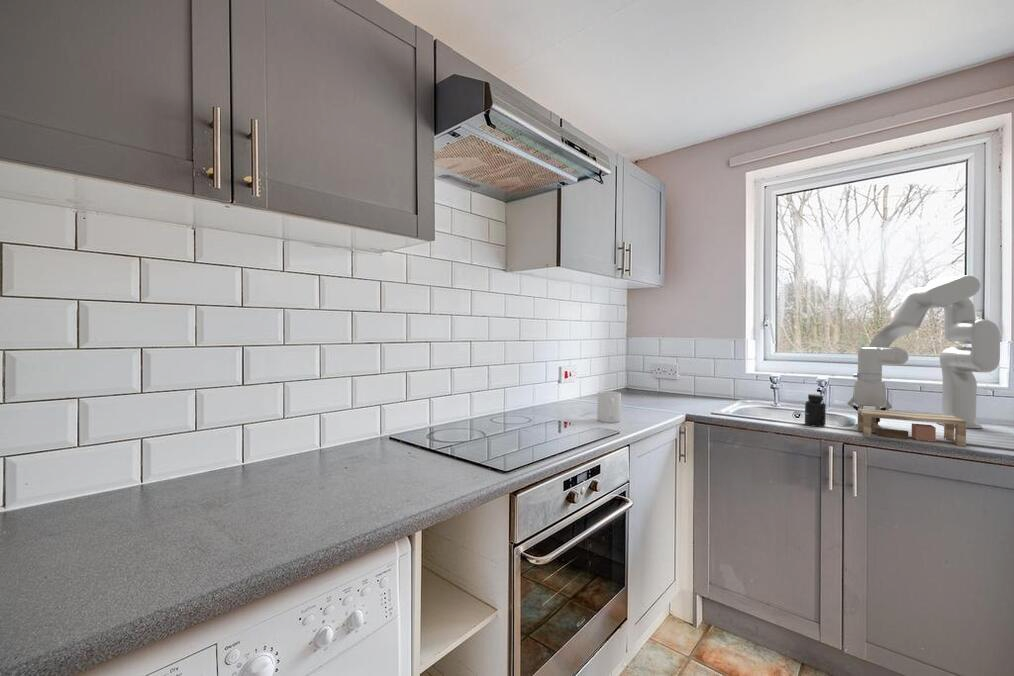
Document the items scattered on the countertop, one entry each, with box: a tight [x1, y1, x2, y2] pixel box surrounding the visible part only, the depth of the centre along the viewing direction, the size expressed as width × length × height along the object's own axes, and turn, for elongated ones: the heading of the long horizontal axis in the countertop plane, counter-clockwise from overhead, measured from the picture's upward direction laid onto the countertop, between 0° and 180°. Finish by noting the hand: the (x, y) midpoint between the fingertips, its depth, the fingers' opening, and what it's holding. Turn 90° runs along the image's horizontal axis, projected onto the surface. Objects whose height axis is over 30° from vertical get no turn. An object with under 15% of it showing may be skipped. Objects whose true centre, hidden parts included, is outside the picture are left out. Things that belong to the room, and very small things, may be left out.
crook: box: [870, 408, 909, 439], centre depth 165 cm, size 26×9×6 cm, turn 149°
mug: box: [596, 390, 622, 424], centre depth 178 cm, size 10×12×12 cm
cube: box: [911, 422, 937, 442], centre depth 151 cm, size 5×5×5 cm
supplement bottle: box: [804, 393, 827, 427], centre depth 174 cm, size 7×7×12 cm
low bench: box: [857, 408, 967, 447], centre depth 153 cm, size 12×26×8 cm, turn 60°
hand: (868, 422), depth 175 cm, fingers closed on crook, 4 cm apart
